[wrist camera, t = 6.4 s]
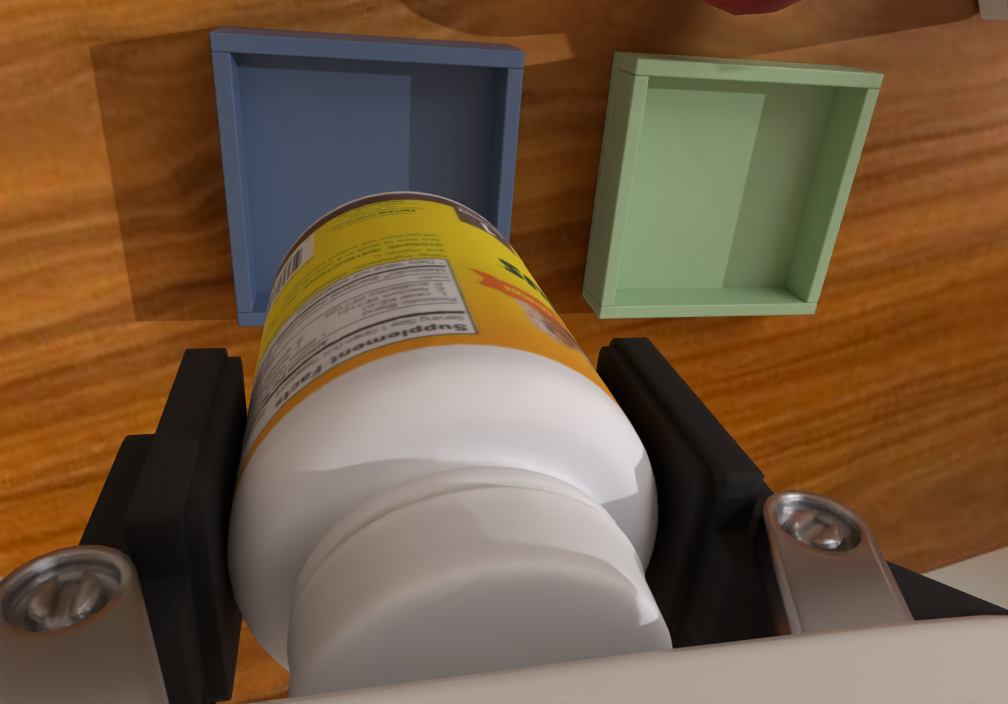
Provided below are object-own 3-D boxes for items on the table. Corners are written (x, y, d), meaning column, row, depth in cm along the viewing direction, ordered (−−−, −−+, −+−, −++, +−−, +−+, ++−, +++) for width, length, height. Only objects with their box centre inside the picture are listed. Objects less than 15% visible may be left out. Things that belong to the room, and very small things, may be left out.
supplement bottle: (544, 375, 18) (760, 783, 9) (320, 441, 17) (313, 941, 8) (496, 148, 15) (740, 415, 6) (227, 221, 15) (72, 621, 6)
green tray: (613, 50, 30) (637, 58, 27) (845, 65, 32) (885, 73, 30) (581, 296, 34) (598, 319, 32) (784, 293, 37) (814, 314, 35)
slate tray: (218, 25, 26) (208, 31, 24) (509, 44, 29) (525, 51, 26) (244, 300, 31) (238, 326, 29) (491, 297, 34) (503, 321, 31)
